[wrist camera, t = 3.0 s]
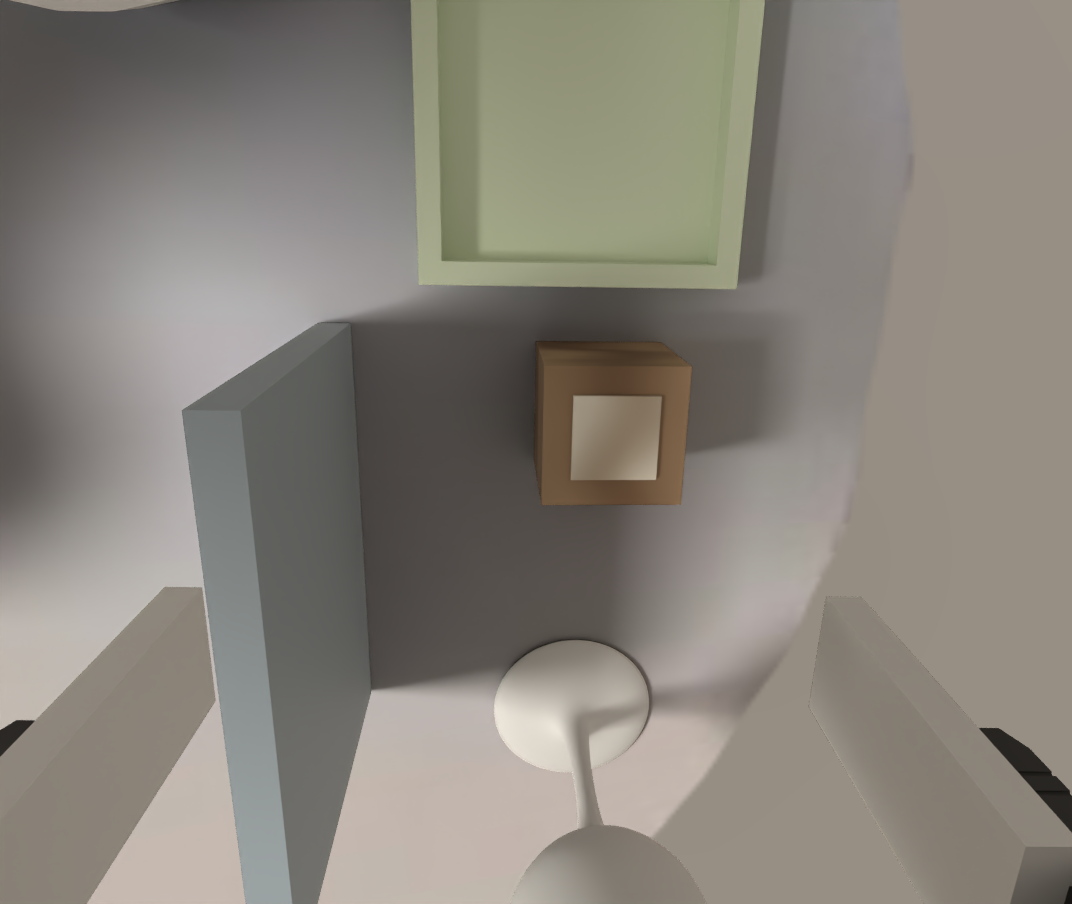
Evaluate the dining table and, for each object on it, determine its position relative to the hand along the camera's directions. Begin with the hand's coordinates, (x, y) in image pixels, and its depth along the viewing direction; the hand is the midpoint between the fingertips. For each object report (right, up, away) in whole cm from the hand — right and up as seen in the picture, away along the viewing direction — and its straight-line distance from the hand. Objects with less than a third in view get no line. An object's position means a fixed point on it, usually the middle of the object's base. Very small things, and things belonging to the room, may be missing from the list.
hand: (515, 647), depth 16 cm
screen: (-9, +1, +22) cm, 24 cm away
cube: (+3, +7, +21) cm, 22 cm away
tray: (+2, +19, +17) cm, 25 cm away
